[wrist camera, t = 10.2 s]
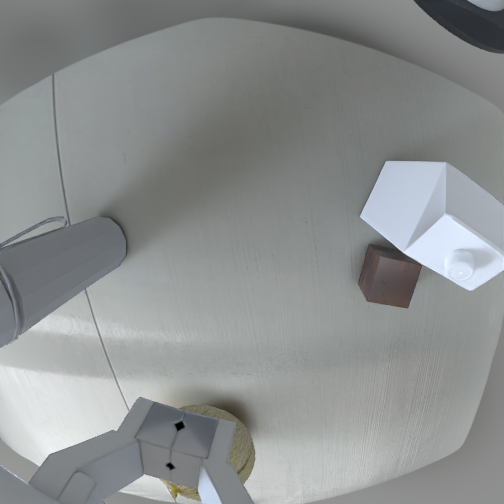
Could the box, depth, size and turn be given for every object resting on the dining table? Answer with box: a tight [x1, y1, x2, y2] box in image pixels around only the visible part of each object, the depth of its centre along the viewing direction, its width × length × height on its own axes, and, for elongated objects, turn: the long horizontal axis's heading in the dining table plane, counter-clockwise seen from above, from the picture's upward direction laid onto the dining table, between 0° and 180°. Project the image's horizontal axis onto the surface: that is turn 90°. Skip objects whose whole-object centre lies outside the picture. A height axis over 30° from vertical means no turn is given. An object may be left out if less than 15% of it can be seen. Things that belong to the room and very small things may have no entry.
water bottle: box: [0, 216, 126, 348], centre depth 27 cm, size 9×8×25 cm
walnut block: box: [358, 244, 422, 308], centre depth 33 cm, size 5×5×5 cm
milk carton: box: [360, 161, 504, 291], centre depth 24 cm, size 7×7×19 cm
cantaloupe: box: [159, 405, 255, 501], centre depth 38 cm, size 15×15×15 cm
